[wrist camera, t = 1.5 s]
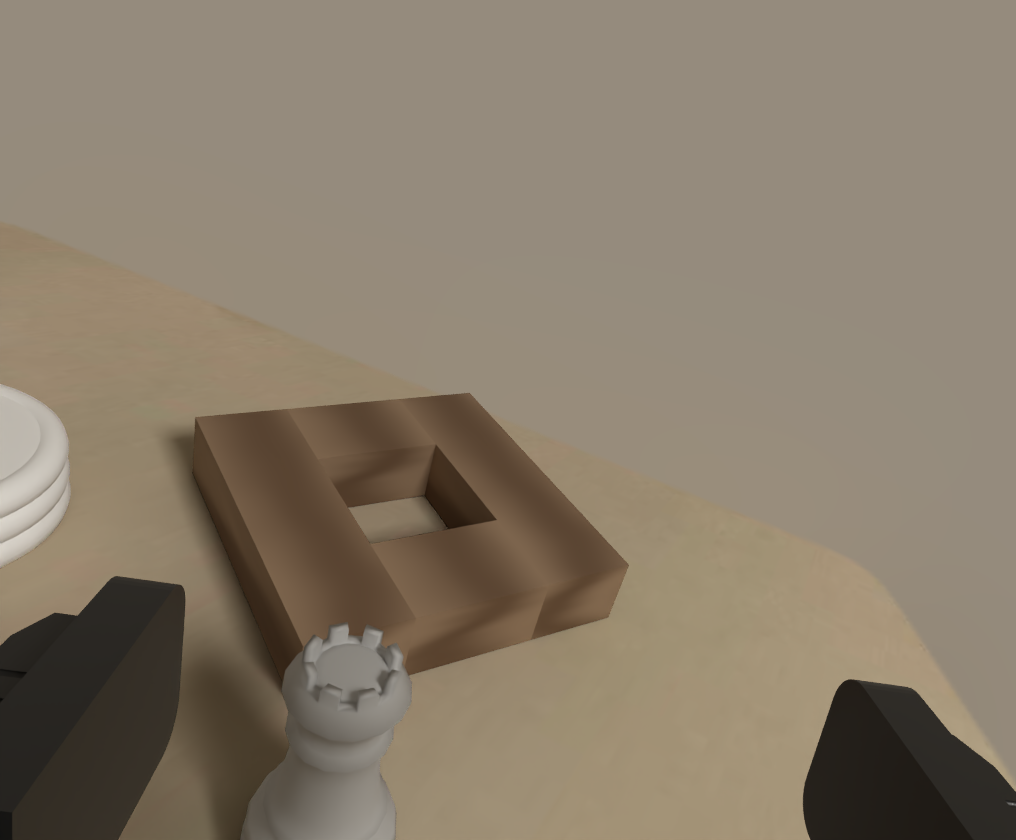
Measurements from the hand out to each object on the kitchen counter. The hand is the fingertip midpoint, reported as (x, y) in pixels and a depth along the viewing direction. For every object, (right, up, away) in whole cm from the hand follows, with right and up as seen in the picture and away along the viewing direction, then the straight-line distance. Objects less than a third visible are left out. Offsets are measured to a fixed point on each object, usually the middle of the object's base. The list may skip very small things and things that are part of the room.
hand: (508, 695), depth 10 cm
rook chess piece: (-6, -9, +14) cm, 18 cm away
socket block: (-5, -2, +27) cm, 27 cm away
